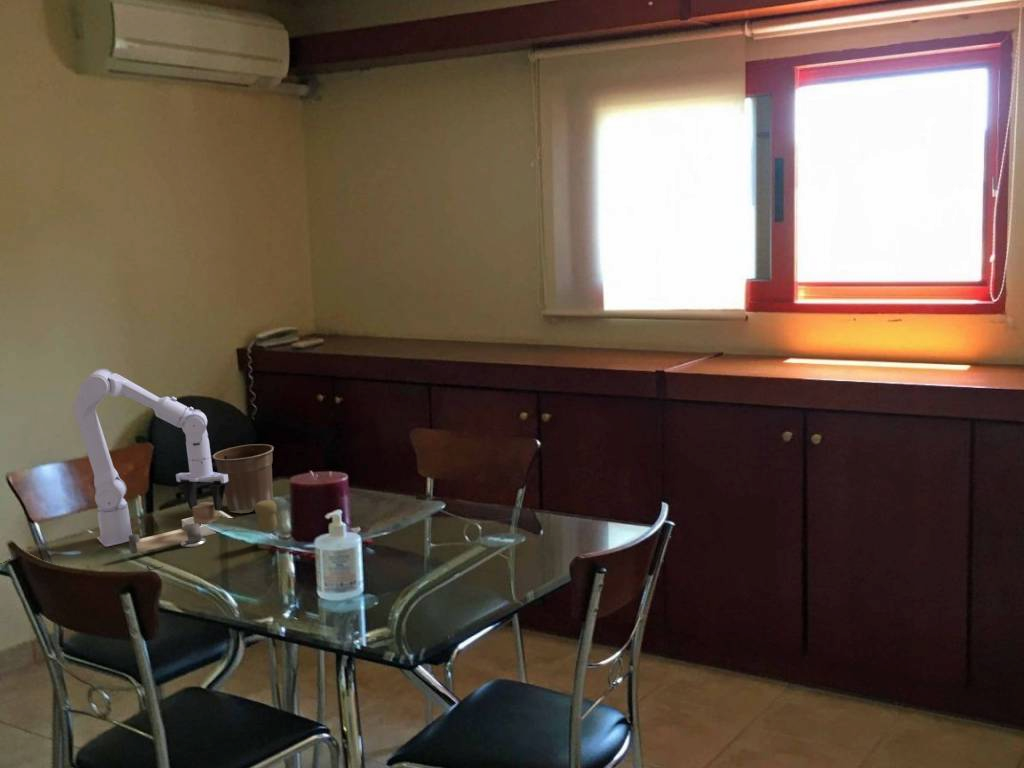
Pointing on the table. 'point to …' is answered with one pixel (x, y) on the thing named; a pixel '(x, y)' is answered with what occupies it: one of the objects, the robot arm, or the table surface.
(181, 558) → the table surface
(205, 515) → the block
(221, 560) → the table surface
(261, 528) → the cork
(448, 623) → the table surface
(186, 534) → the crank
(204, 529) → the tray
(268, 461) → the plant pot
